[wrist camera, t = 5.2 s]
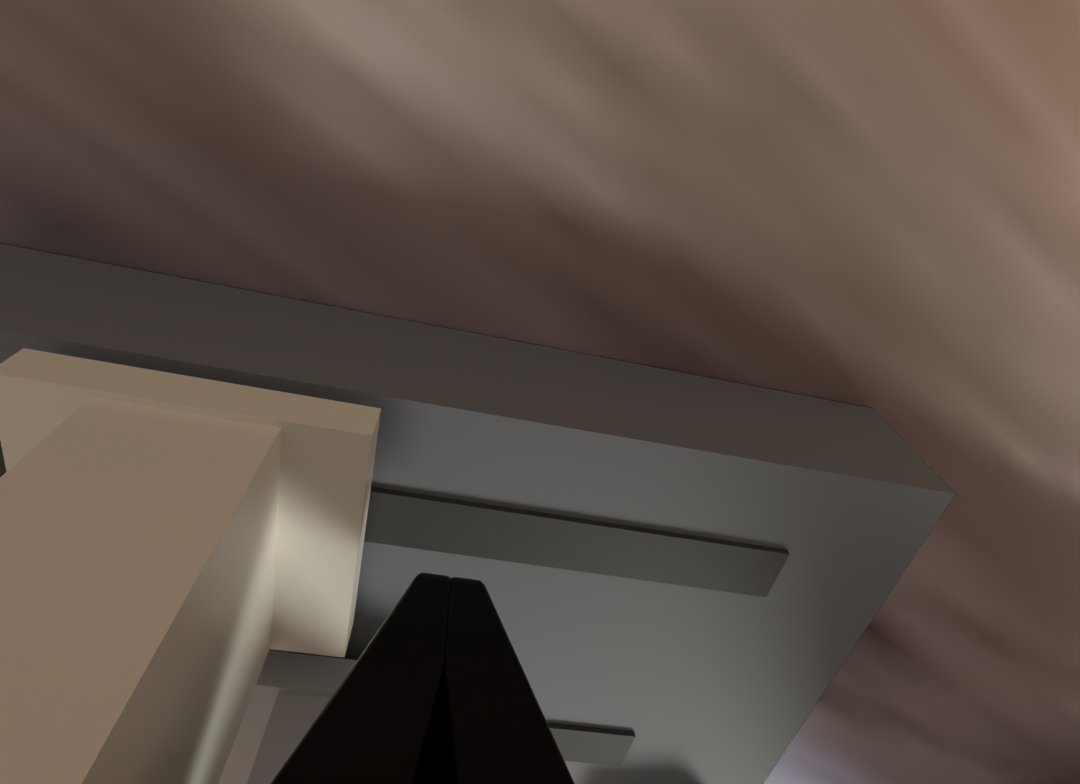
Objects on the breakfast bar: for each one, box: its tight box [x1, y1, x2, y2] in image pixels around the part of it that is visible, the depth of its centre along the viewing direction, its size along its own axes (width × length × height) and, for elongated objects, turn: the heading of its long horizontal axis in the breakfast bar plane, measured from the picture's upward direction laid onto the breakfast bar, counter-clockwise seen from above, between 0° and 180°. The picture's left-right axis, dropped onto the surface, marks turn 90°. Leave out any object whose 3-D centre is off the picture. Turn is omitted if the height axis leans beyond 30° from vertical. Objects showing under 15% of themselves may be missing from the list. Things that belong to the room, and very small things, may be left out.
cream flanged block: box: [0, 348, 381, 784], centre depth 7 cm, size 4×4×5 cm
